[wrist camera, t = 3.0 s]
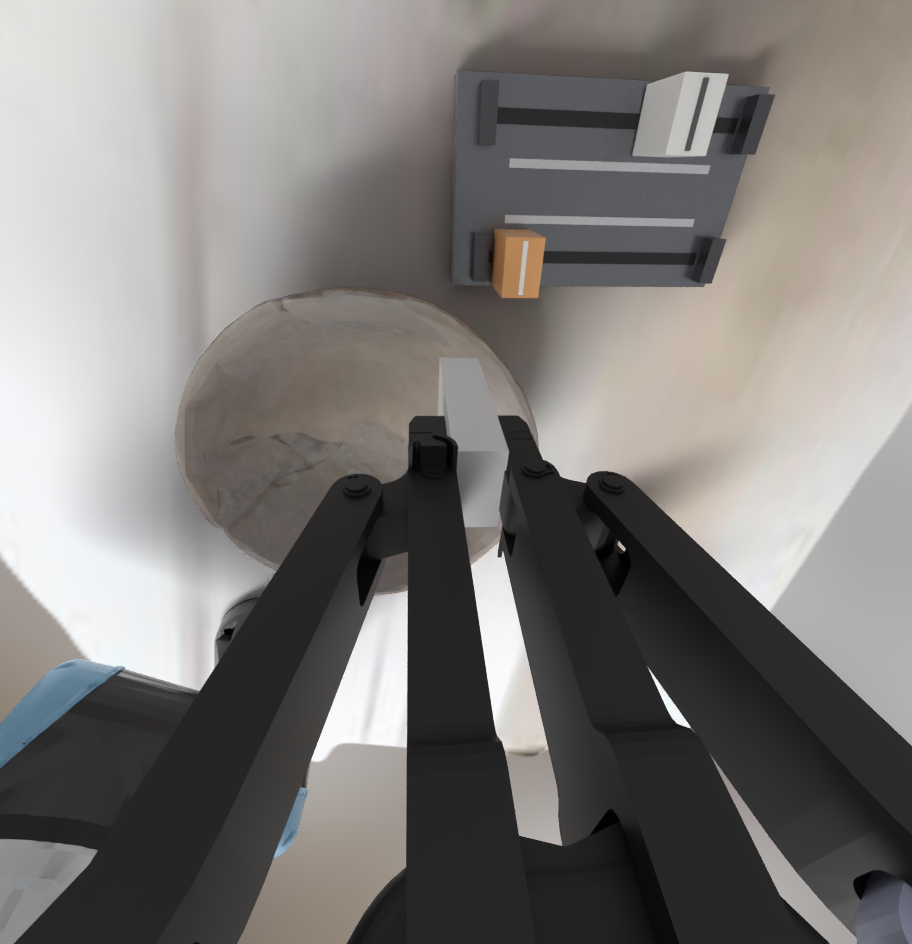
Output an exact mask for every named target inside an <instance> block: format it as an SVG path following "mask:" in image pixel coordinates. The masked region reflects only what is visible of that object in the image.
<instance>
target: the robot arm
mask: <svg viewBox="0 0 912 944" xmlns="http://www.w3.org/2000/svg"><path fill="white" fill-rule="evenodd" d="M499 515H500V517H501V521H502V529H501V536H500V542H499V548H498V557H501V556H502V551H503V552H504V556H505V561H506V565H507V569H508V574H509V578H510V582H511V587H512V591H513V595H514V600H515V604H516V609H517V613H518V617H519V622H520V626H521V630H522V635H523V639H524V644H525V648H526V652H527V657H528V661H529V665H530V670H531V674H532V679H533V683H534V687H535V692H536V696H537V700H538V705H539V709H540V714H541V718H542V722H543V727H544V731H545V735H546V740H547V744H548V748H549V753H550V757H551V762H552V765H553V770H554V774H555V779H556V784H557V789H558V798H559V812H558V817H559V827H560V835H561V840H562V846H559V845H555V844H551V843H547V842H543V841H538V840H534V839H530V838H526V837H522V836H519V834H518V828H517V821H516V815H515V809H514V803H513V797H512V790H511V784H510V778H509V771H508V766H507V761H506V756H505V751H504V748H503V745H502V741H501V740H500V739H499V738H498V736H497V734H496V731H495V726H494V720H493V714H492V707H491V700H490V693H489V687H488V680H487V673H486V666H485V660H484V653H483V646H482V640H481V633H480V626H479V619H478V613H477V606H476V599H475V592H474V586H473V579H472V572H471V565H470V559H469V552H468V545H467V539H466V532H465V527H498V521H499ZM618 541H620V542H621V544H622V545H623V546H624V547H625V548H626V550H625V552H624V551H623V550H622V549H621V548H620V547H619V546H618V545H617V544H618ZM405 552H408V693H407V834H406V837H407V838H406V847H407V848H406V849H407V850H406V852H407V853H406V868H405V869H403V870H402V871H401V872H400V873H399V874H398V875H397V876H396V877H394V878H393V879H392V880H391V881H390V882H389V883H388V884H387V885H386V886H385V887H384V888H383V890H382V891H381V892H380V893H379V894H378V895H377V897H376V898H375V899H374V900H373V902H372V903H371V905H370V906H369V907H368V909H367V910H366V912H365V913H364V915H363V916H362V918H361V920H360V921H359V923H358V925H357V926H356V928H355V930H354V932H353V933H352V935H351V937H350V939H349V941H348V943H347V944H829V942H828V941H827V940H826V939H824V938H823V937H822V936H821V935H820V934H819V933H818V932H817V931H816V930H815V929H814V928H813V927H812V926H811V925H810V924H809V923H808V922H807V921H806V920H805V919H804V918H803V917H802V916H801V915H799V914H798V913H797V912H796V911H795V910H794V909H793V908H792V907H791V906H790V905H789V904H788V903H787V902H786V901H785V900H784V899H783V898H782V897H781V896H780V895H779V893H778V891H777V889H776V887H775V885H774V883H773V881H772V879H771V877H770V875H769V873H768V871H767V869H766V867H765V864H764V863H763V860H762V858H761V856H760V855H759V853H758V850H757V848H756V846H755V844H754V842H753V840H752V838H751V836H750V834H749V832H748V830H747V828H746V826H745V824H744V822H743V820H742V818H741V816H740V814H739V812H738V810H737V808H736V806H735V804H734V802H733V800H732V798H731V796H730V794H729V792H728V790H727V788H726V786H725V784H724V782H723V780H722V778H721V776H720V774H719V772H718V770H717V768H716V766H715V764H714V761H713V759H712V758H711V756H712V757H713V758H714V760H715V761H716V763H717V764H718V766H719V767H720V768H721V770H722V771H723V772H724V774H725V775H726V777H727V778H728V779H729V781H730V782H731V784H732V785H733V786H734V788H735V789H736V791H737V792H738V794H739V795H740V796H741V798H742V799H743V801H744V802H745V803H746V804H747V806H748V808H749V809H750V810H751V812H752V813H753V815H754V816H755V817H756V819H757V820H758V821H759V823H760V824H761V826H762V827H763V828H764V830H765V831H766V833H767V834H768V836H769V837H770V838H771V840H772V841H773V842H774V843H775V845H776V846H777V847H778V849H779V850H780V851H781V853H782V854H783V855H784V856H785V858H786V859H787V861H788V862H789V863H790V864H791V866H792V867H793V868H794V870H795V871H796V872H797V873H798V875H799V876H800V877H801V878H802V879H803V880H804V881H805V882H806V884H807V885H808V886H809V887H810V888H811V890H812V891H813V892H814V893H815V894H816V895H817V896H818V898H819V899H820V900H821V901H822V902H823V903H824V905H825V906H826V907H827V908H828V909H829V910H830V911H831V912H832V913H833V914H834V915H835V916H836V917H837V918H838V919H839V920H840V921H841V922H842V923H843V924H844V925H845V926H846V928H847V929H848V930H849V931H850V932H851V933H852V934H853V935H854V936H855V937H856V938H857V944H912V746H911V745H910V744H909V743H908V742H907V741H906V740H905V739H904V738H903V737H902V736H901V735H899V734H898V733H897V732H896V731H895V730H894V729H893V728H892V727H891V726H890V725H889V724H888V723H887V722H886V721H885V720H884V719H883V718H881V717H880V716H879V715H878V714H877V713H876V712H875V711H874V710H873V709H872V708H871V707H870V706H869V705H868V704H867V703H866V702H865V701H863V700H862V699H861V698H860V697H859V696H858V695H857V694H856V693H855V692H854V691H853V690H852V689H851V688H850V687H849V686H847V684H846V683H844V682H843V681H842V680H841V679H840V678H839V677H838V676H837V675H836V674H835V673H834V672H833V671H832V670H831V669H830V668H829V667H828V666H826V665H825V664H824V663H823V662H822V661H821V660H820V659H819V658H818V657H817V656H816V655H815V654H814V653H813V652H812V651H810V649H809V648H807V647H806V646H805V645H804V644H803V643H802V642H801V641H800V640H799V639H798V638H797V637H796V636H795V635H794V634H793V633H792V632H790V631H789V630H788V629H787V628H786V627H785V626H784V625H783V624H782V623H781V622H780V621H779V620H778V619H777V618H776V617H775V616H774V615H773V614H771V613H770V612H769V611H768V610H767V609H766V608H765V607H764V606H763V605H762V604H761V603H760V602H759V601H758V600H757V599H756V598H755V597H754V596H752V595H751V594H750V593H749V592H748V591H747V590H746V589H745V588H744V587H743V586H742V585H741V584H740V583H739V582H738V581H737V580H736V579H734V578H733V577H732V576H731V575H730V574H729V573H728V572H727V571H726V570H725V569H724V568H723V567H722V566H721V565H720V564H719V563H718V562H716V561H715V560H714V559H713V558H712V557H711V556H710V555H709V554H708V553H707V552H706V551H705V550H704V549H703V548H702V547H701V546H700V545H698V544H697V543H696V542H695V541H694V540H693V539H692V538H691V537H690V536H689V535H688V534H687V533H686V532H685V531H684V530H683V529H682V528H681V527H679V526H678V525H677V524H676V523H675V522H674V521H673V520H672V519H671V518H670V517H669V516H668V515H667V514H666V513H665V512H664V511H663V510H661V509H660V508H659V507H658V506H657V505H656V504H655V503H654V502H653V501H652V500H651V499H650V498H649V497H648V496H647V495H646V494H645V493H643V492H642V491H641V490H640V489H639V488H638V487H637V486H636V485H635V484H634V483H633V482H632V481H630V480H629V479H628V478H626V477H625V476H622V475H620V474H617V473H614V472H608V471H598V472H595V473H592V474H591V475H590V476H589V477H588V478H587V482H586V483H582V482H577V481H572V480H568V479H565V478H562V477H560V475H559V473H558V471H557V469H556V468H555V467H554V465H552V464H550V463H549V462H547V461H545V460H543V459H542V456H541V454H540V452H539V450H538V447H537V445H536V443H535V440H534V438H533V436H532V433H531V431H530V429H529V426H528V424H527V423H526V422H525V421H524V420H523V419H522V418H520V417H519V416H517V415H497V413H496V410H495V407H494V404H493V401H492V398H491V395H490V392H489V389H488V386H487V383H486V380H485V377H484V374H483V371H482V368H481V365H480V362H479V359H478V358H445V357H440V364H439V393H438V416H414V418H413V419H412V420H411V421H410V423H409V444H408V470H407V472H406V473H405V474H404V475H403V476H402V477H401V478H399V479H397V480H395V481H392V482H388V483H384V484H381V482H380V480H378V479H377V478H375V477H374V476H371V475H367V474H351V475H347V476H344V477H342V478H340V479H338V480H337V481H336V482H335V483H334V484H333V485H332V486H331V487H330V489H329V490H328V492H327V494H326V495H325V497H324V498H323V500H322V501H321V503H320V504H319V506H318V508H317V509H316V511H315V512H314V514H313V515H312V517H311V519H310V520H309V522H308V523H307V525H306V526H305V528H304V529H303V531H302V533H301V534H300V536H299V537H298V539H297V540H296V542H295V544H294V545H293V547H292V548H291V550H290V551H289V553H288V554H287V556H286V558H285V559H284V561H283V562H282V564H281V565H280V567H279V569H278V570H277V572H276V573H275V575H274V576H273V578H272V579H271V581H270V583H269V584H268V586H267V587H266V589H265V590H264V592H263V594H262V595H261V597H260V598H255V599H251V600H248V601H245V602H243V603H241V604H239V605H237V606H235V607H234V608H232V609H231V610H230V611H229V612H228V613H227V614H226V615H225V616H224V618H223V620H222V622H221V624H220V627H219V630H218V632H217V635H216V638H215V668H214V670H213V672H212V673H211V675H210V676H209V678H208V679H207V681H206V683H205V684H204V686H203V687H202V689H201V690H200V691H197V690H194V689H190V688H187V687H183V686H180V685H176V684H173V683H169V682H166V681H163V680H159V679H156V678H153V677H149V676H146V675H143V674H139V673H136V672H133V671H129V670H126V669H125V667H123V666H117V667H113V666H108V665H103V664H99V663H95V662H91V661H86V660H80V659H78V660H70V661H66V662H64V663H61V664H59V665H57V666H56V667H54V668H53V669H51V670H50V671H49V672H48V673H47V674H46V675H45V676H44V677H43V678H42V679H41V680H40V681H39V682H38V683H37V684H36V685H35V686H34V687H33V688H32V689H31V690H30V691H29V692H28V693H27V694H26V695H25V696H24V697H23V698H22V700H21V701H20V702H19V703H18V704H17V705H16V706H15V707H14V708H13V709H12V711H11V712H10V713H9V714H8V715H7V716H6V717H5V718H4V720H3V721H2V722H1V723H0V944H237V942H238V941H239V939H240V937H241V935H242V933H243V931H244V929H245V926H246V924H247V922H248V919H249V917H250V915H251V912H252V910H253V907H254V905H255V903H256V901H257V898H258V896H259V894H260V891H261V889H262V886H263V884H264V881H265V879H266V876H267V873H268V871H269V868H270V866H271V863H272V860H273V859H274V858H275V857H277V856H279V855H280V854H282V853H283V852H284V851H285V850H286V849H288V847H289V846H290V845H291V844H292V842H293V840H294V839H295V837H296V835H297V833H298V829H299V825H300V820H301V815H302V811H303V806H304V802H305V798H306V796H307V793H308V789H307V783H308V776H309V769H310V762H311V758H312V756H313V753H314V750H315V748H316V745H317V742H318V740H319V737H320V735H321V732H322V729H323V727H324V724H325V721H326V719H327V716H328V714H329V711H330V708H331V706H332V703H333V700H334V698H335V695H336V693H337V690H338V687H339V685H340V682H341V679H342V677H343V674H344V672H345V669H346V666H347V664H348V661H349V659H350V656H351V653H352V651H353V648H354V645H355V643H356V640H357V638H358V635H359V632H360V630H361V627H362V624H363V622H364V619H365V617H366V614H367V611H368V609H369V606H370V603H371V601H372V598H373V596H374V593H375V590H376V588H377V585H378V582H379V580H380V577H381V575H382V572H383V569H384V567H385V564H386V558H388V557H391V556H395V555H398V554H402V553H405ZM647 666H648V667H649V669H650V670H651V672H652V673H653V674H654V676H655V677H656V679H657V680H658V681H659V683H660V684H661V686H662V687H663V688H664V690H665V691H666V693H667V694H668V695H669V697H670V698H671V700H672V701H673V702H674V704H675V705H676V707H677V708H678V709H679V711H680V712H681V714H682V715H683V716H684V718H685V719H686V721H687V722H688V723H689V725H690V726H691V728H692V729H693V730H694V732H695V733H696V734H695V733H694V732H693V731H692V730H691V729H690V728H687V727H684V726H681V725H679V724H677V723H676V722H675V721H674V720H673V719H672V718H671V716H670V714H669V713H668V711H667V709H666V706H665V704H664V702H663V700H662V698H661V695H660V693H659V691H658V689H657V687H656V685H655V682H654V680H653V678H652V676H651V674H650V671H649V669H648V667H647ZM710 754H711V756H710Z"/></svg>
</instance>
